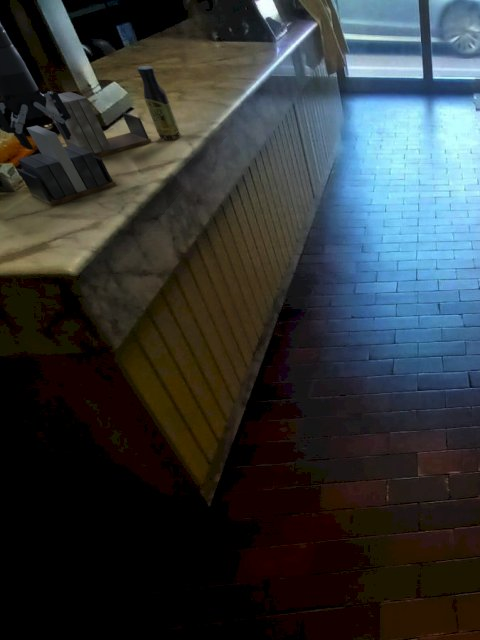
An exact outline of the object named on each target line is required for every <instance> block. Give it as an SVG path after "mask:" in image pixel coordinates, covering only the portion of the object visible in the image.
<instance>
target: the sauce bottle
mask: <svg viewBox="0 0 480 640" xmlns="http://www.w3.org/2000/svg"><path fill="white" fill-rule="evenodd" d="M136 69H137V72H138V74H139V75H140V79H141V80H142V84H143V97H144V98H143V99H144V101H145V104H146V106H147V110H148V112H149V115H150V117H151V120H152V123H153V125H154V128H155V131H156V132H157V134H158V137H159V138H160V139H161V140H165V141H173V140H177V139H179V138H180V137H181V132H180V128H179V125H178V123H177V119H176V117H175V114H174V112H173V109H172V106H171V103H170V101H169V99H168V96H167V93H166V91H165V89H163V88H162V86H160V84H159V82H158V80H157V77H156V75H155V70H154V67H153V66H151V65H141V66H137V68H136Z"/></svg>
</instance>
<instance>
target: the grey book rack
mask: <svg viewBox="0 0 480 640" xmlns="http://www.w3.org/2000/svg"><path fill="white" fill-rule="evenodd" d="M63 147H64V149H65V151H66V152H67V154H68V156H69V158H70V160H71V161H72V163H73V165H74V167H75V169H76V171H77V172H78V174H79V176H80V178H81V180H82V181H83V183H84V185H85V187H86V189H87V190H84V191H81V192H78V193H77V192H75V190H74V189H73V187H72V185H71V183H70V182H69V180H68V178H67V176H66V175H65V173H64V171H63V169H62V167H61V166H60V164H59V162H58V161H55V160H53V159H51V158H49V157H46V156H44V155H42V154H41V153H36V154H32V155H29V156H24V157H21V158H17V161H18V163H19V164H20V166H21V167H22V168H21V169H20V168H16V171H17V173H18V174H19V176H20V177H21V179H22V180H23V182H24V184H25V186H26V187H27V189H28V190H29V194H30V196H31V197H33V198H34V199H37V200H39V201H41V202H43V203H45V204H47V205H49V206H50V207H54V206H57V205H60V204H63V203H66V202H70V201H73V200H75V199H79V198H82V197H85V196H88V195H90V194H94V193H97V192H100V191H103V190H107V189H109V188H112V187H115V186H117V184H116V182H115V181H114V180H113V178H112V176H111V175H110V172H109V170H108V168H107V167H106V164H105V162H104V161H103V159H102V158H101V157H96V156H94V155H93V154H92V152H90V151H87V150H85V149H82V148H80V147H78V146H75V145H70V146H67V145H66V146H63Z"/></svg>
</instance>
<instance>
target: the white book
mask: <svg viewBox="0 0 480 640" xmlns="http://www.w3.org/2000/svg"><path fill="white" fill-rule="evenodd" d="M26 130H27V131H28V133H29V135H30V136H31V138H32V140H33V142H34V144H35V145H36V147H37V149H38V151H39V153H40V154H42V155H44V156H46V157H49V158H51V159H53V160H55V161H58V162H59V164H60V166H61V167H62V169H63V171H64V173H65V175H66V176H67V178H68V180H69V182H70V183H71V185H72V187H73V189H74V190H75V192H77V193H78V192H81V191H84V190H87V189H86V187H85V185H84V183H83V181H82V180H81V178H80V176H79V174H78V172H77V171H76V169H75V167H74V165H73V163H72V161H71V160H70V158H69V156H68V154H67V152H66V151H65V149H64V147H65V146H64V145H63V143H62V141H61V140H60V138H59V136H58V134H57V133H56V132H54V131H52V130H49V129H47V128H44V127H42V126H39V125H34V126H29V127H26Z"/></svg>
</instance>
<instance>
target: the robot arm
mask: <svg viewBox="0 0 480 640" xmlns="http://www.w3.org/2000/svg"><path fill="white" fill-rule="evenodd" d="M58 94H59V93H58V92H55V91H52V90H48V91H47V92H46V93H41V91H40V89H39V87H38V86H37V84H36V82H35V80H34V78H33V76H32V74H31V73H30V71H29V69H28V67H27V64H26V62H25V61H24V59H23V58H22V56H21V54H20V53H19V52H18V50H17V49H16V47H15V46H14V44H13V42H12V40H11V39H10V37H9V35H8V33H7V31H6V30H5V28H4V26H3V25H2V23H1V22H0V99H1V102H0V130H1V132H5V133H7V134H13V135H14V136H15V137H16V139H17V141H18V143H19V144H20V145H21V146H22V148H25V149H27V150H29V151H31V150H34V147H33V146H32V143H31V142H30V140H29V139H28V137H27V135H26V133H24V132H23V129H24V125H25V124H26V120H28V121H30V120H31V121H32V120H34V119H35V118H43V117H44V116H46V117H48V118H49V119H51V120H52V121H53V120H55V121H56V123H54V124H55V126H56V125H57V126H56V128H57V127H58V128H57V130H58V129H59V130H58V132H59V131H60V132H59V134H60V133H61V134H62V135H61V134H60V135H61V137H62V136H63V137H62V139H63V138H64V139H66V140H69V139H70V136H71V133H70V132H69V130H68V128H67V126H66V124H65V121H66V120H67V119H70V118H71V116H70V114H69V112H68V111H67V109H66V107H65V106H64V104H63V102H62V100H61V99H60V97H59V95H58ZM46 99H48V100H49V101H50V102H52V103H53V104H54V105H55V107H56V109H57V110H58V112H59V115H56V114H55V113H53V112H52V111H50V110H49V109H47V108H46V101H47V100H46ZM5 109H7V110H8V111H10V112H11V116H10V121H11V122H10V124H9V123H8V121H7V119H6V117H5V115H4V114H6V113H5V112H6V111H5ZM64 139H63V140H64Z"/></svg>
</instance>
